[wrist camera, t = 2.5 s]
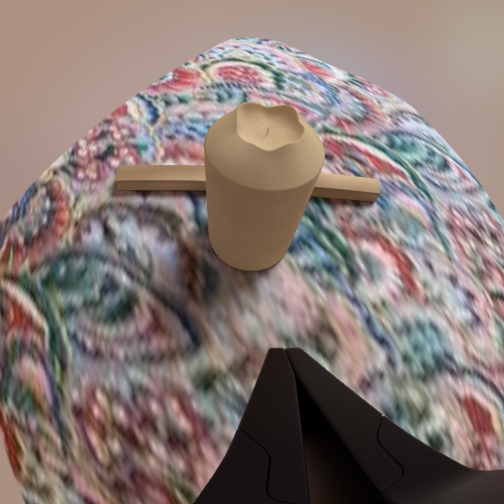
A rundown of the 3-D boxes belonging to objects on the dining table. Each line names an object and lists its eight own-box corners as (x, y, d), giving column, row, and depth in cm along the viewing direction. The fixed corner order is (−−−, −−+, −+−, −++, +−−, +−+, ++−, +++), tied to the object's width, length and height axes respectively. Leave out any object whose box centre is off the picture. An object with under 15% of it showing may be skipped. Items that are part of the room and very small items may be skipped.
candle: (191, 233, 21) (176, 117, 12) (248, 188, 23) (264, 73, 14) (251, 289, 19) (277, 193, 11) (305, 235, 22) (356, 128, 13)
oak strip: (374, 201, 24) (380, 193, 22) (118, 190, 22) (114, 180, 21) (370, 188, 24) (376, 179, 23) (122, 176, 22) (118, 166, 21)
